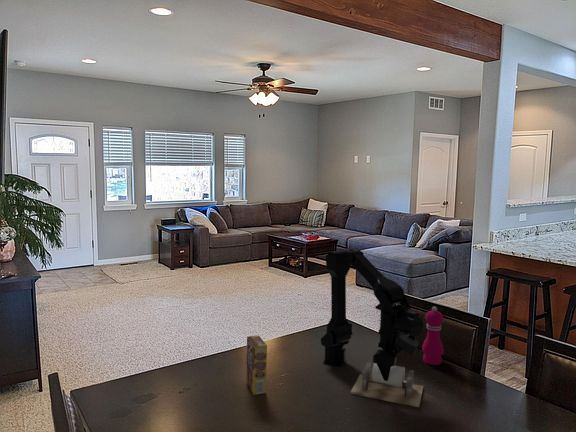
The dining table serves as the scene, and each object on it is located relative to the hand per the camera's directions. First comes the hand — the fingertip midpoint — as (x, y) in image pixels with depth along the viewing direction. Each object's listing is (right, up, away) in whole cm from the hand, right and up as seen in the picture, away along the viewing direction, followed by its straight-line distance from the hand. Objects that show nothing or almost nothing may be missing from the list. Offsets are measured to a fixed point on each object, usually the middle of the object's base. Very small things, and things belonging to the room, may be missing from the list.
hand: (387, 375), depth 137 cm
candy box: (-40, -5, +2) cm, 41 cm away
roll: (0, -3, 0) cm, 3 cm away
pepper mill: (+21, -3, +22) cm, 31 cm away
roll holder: (0, -5, 0) cm, 5 cm away
